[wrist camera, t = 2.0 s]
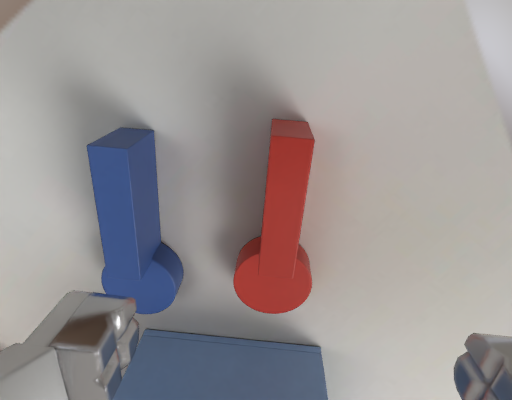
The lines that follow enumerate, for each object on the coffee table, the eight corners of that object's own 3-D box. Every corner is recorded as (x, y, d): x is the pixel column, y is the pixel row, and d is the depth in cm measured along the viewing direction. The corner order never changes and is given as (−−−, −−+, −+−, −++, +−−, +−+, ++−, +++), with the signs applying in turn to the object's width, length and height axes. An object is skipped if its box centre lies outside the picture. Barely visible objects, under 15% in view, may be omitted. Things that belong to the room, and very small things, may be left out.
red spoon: (245, 116, 15) (238, 132, 12) (334, 124, 14) (348, 142, 12) (235, 289, 19) (228, 330, 16) (303, 296, 19) (308, 338, 16)
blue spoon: (94, 125, 15) (55, 142, 12) (179, 132, 15) (158, 151, 12) (118, 291, 19) (92, 331, 17) (184, 297, 19) (169, 339, 17)
